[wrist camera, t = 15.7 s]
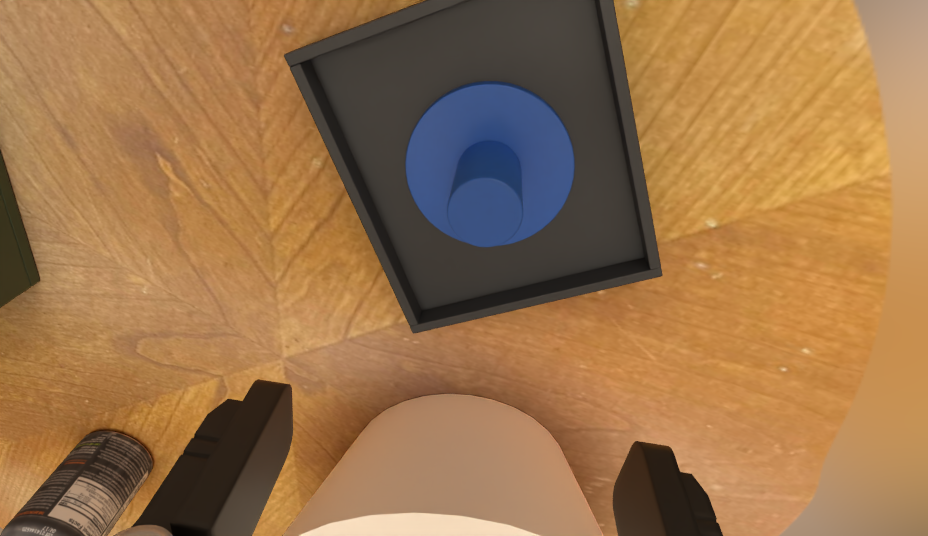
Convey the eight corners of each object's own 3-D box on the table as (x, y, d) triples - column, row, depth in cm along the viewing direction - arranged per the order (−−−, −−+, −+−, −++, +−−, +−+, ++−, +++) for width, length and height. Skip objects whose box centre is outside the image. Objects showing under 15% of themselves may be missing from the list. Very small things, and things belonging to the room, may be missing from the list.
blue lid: (382, 112, 28) (351, 148, 22) (550, 55, 26) (561, 80, 20) (440, 256, 32) (425, 317, 26) (589, 217, 30) (606, 274, 24)
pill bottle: (94, 472, 46) (-18, 611, 36) (74, 423, 43) (-54, 560, 33) (162, 480, 46) (68, 621, 36) (146, 432, 43) (39, 571, 33)
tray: (298, 48, 27) (282, 54, 25) (594, -64, 24) (601, -66, 22) (418, 314, 35) (413, 334, 33) (654, 258, 32) (662, 276, 30)
